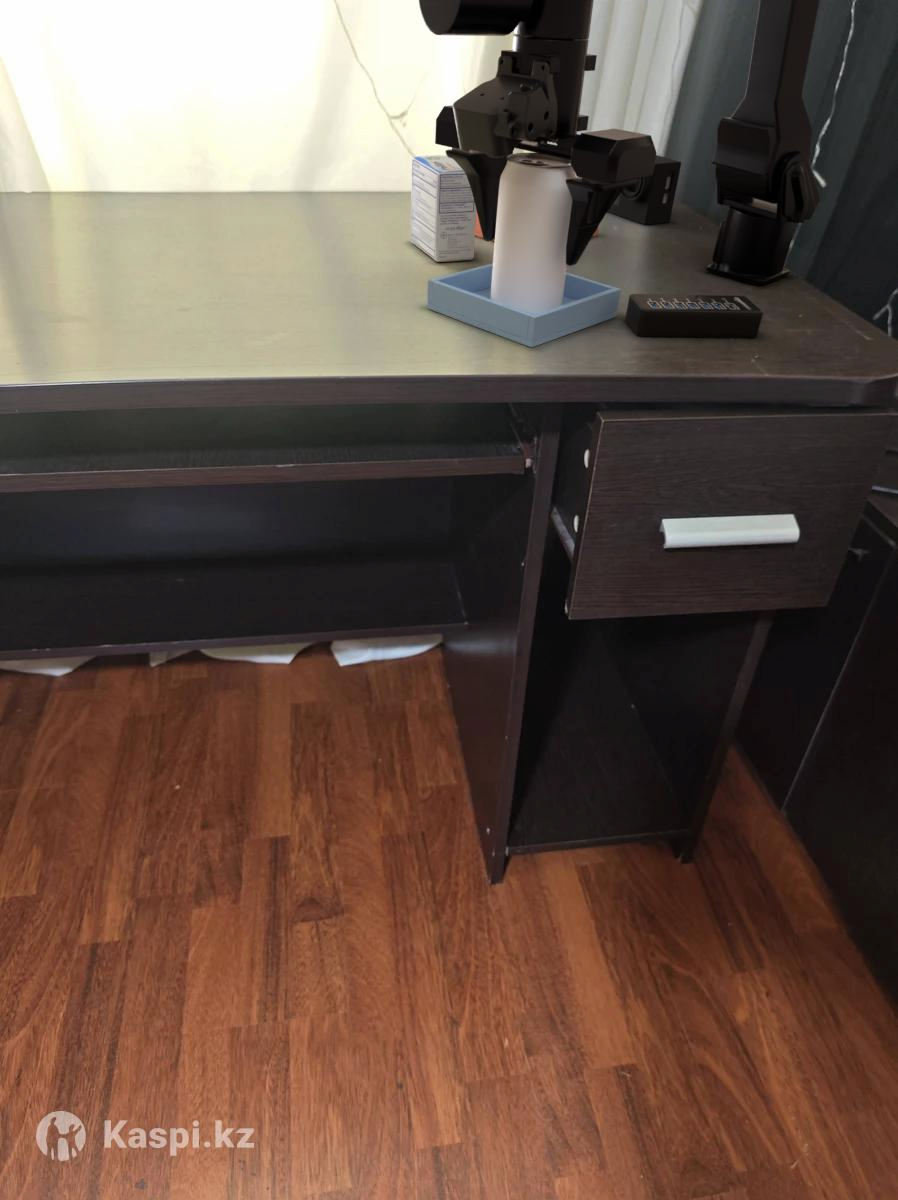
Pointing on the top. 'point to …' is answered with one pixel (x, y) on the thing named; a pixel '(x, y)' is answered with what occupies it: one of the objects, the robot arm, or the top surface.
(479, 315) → the blue tray
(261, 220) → the top surface
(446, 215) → the medicine box
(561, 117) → the robot arm
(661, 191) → the digital camera
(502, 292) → the can
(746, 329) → the multiport hub
